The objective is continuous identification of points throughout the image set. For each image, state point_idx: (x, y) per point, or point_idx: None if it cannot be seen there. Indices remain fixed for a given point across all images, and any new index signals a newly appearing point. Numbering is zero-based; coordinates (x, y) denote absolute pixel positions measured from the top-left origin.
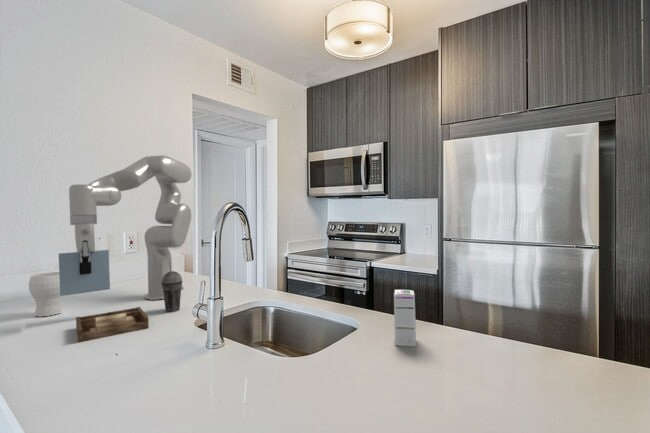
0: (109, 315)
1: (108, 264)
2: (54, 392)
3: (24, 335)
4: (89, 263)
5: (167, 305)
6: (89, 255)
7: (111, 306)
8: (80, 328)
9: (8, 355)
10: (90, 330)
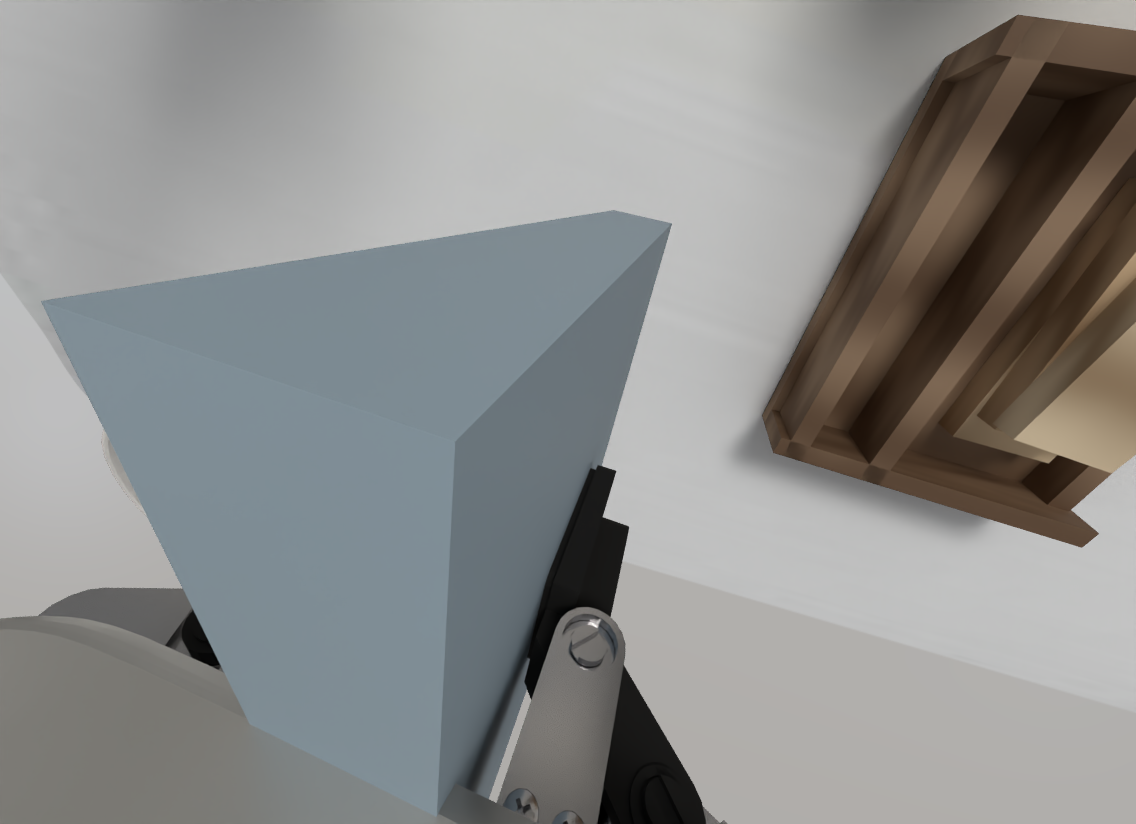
0: (1090, 369)
1: (635, 273)
2: None
3: (618, 521)
4: (583, 587)
5: None
6: (599, 799)
7: (401, 111)
8: (1059, 528)
9: (815, 612)
10: (1004, 448)
